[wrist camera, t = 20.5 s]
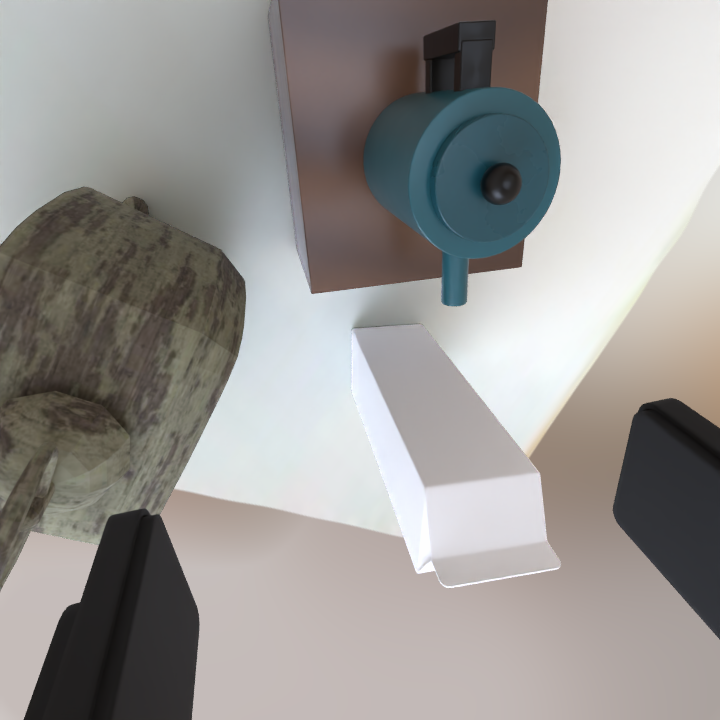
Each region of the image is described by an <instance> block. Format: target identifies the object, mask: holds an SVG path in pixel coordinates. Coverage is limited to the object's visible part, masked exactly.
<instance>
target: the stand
mask: <svg viewBox="0 0 720 720" xmlns="http://www.w3.org/2000/svg"><path fill="white" fill-rule="evenodd" d="M547 4H548V0H271V4H270V8H269V13H268V21H269V29H270V37H271V45H272V53H273V61H274V69H275V77H276V85H277V93H278V101H279V110H280V118H281V126H282V134H283V142H284V150H285V158H286V166H287V174H288V182H289V190H290V198H291V206H292V214H293V222H294V230H295V238H296V247H297V251H298V254H299V257H300V260H301V263H302V266H303V269H304V272H305V275H306V278H307V281H308V284H309V287H310V290H311V293H312V294H315V293H323V292H331V291H339V290H347V289H354V288H362V287H370V286H378V285H386V284H394V283H401V282H409V281H417V280H425V279H433V278H440V277H442V250H440V249H438V248H437V247H436V246H434V245H433V244H432V243H430V242H429V241H428V240H426V239H425V238H424V237H422V236H421V235H420V234H418V233H417V232H416V231H414V230H413V229H412V228H410V227H409V226H408V225H406V224H405V223H404V222H402V221H401V220H400V219H398V218H397V217H396V216H394V215H393V214H392V213H391V212H389V211H388V210H387V209H385V208H384V207H383V206H382V205H381V204H380V203H379V202H378V201H377V200H376V198H375V197H374V196H373V194H372V192H371V190H370V189H369V186H368V184H367V181H366V177H365V173H364V165H363V156H364V148H365V143H366V139H367V137H368V134H369V131H370V129H371V127H372V125H373V123H374V122H375V120H376V119H377V117H378V116H379V115H380V114H381V113H382V111H383V110H384V109H385V108H387V107H388V106H389V105H390V104H391V103H393V102H394V101H396V100H397V99H399V98H401V97H404V96H406V95H409V94H413V93H419V92H425V61H424V59H423V37H424V36H425V35H428V34H430V33H433V32H435V31H438V30H440V29H443V28H445V27H448V26H450V25H453V24H455V23H458V22H462V21H483V20H496V34H495V48H494V50H493V51H492V69H491V86H490V87H504V88H510V89H514V90H516V91H519V92H522V93H524V94H525V95H527V96H529V97H531V98H532V99H533V100H534V101H536V102H537V103H538V95H539V85H540V75H541V65H542V55H543V44H544V34H545V24H546V14H547ZM523 248H524V239H523V240H522V241H520V242H519V243H518V244H516V245H515V246H513V247H512V248H510V249H508V250H506V251H504V252H502V253H500V254H496V255H493V256H490V257H485V258H477V259H469V266H468V274H472V273H479V272H487V271H495V270H503V269H511V268H519V267H522V258H523Z"/></svg>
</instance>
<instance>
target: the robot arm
mask: <svg viewBox="0 0 720 720" xmlns="http://www.w3.org/2000/svg"><path fill="white" fill-rule="evenodd" d="M614 501H615V502H614V505H613V513H614V517H615V519H616V521H617V523H618V524H619V526H620V527H621V528H622V529H623V530H624V531H625V533H626V534H627V535H628V536H629V537H630V538H631V539H632V540H633V542H634V543H635V544H636V545H637V546H638V547H639V548H640V549H641V551H642V552H643V553H644V554H645V555H646V556H647V557H648V559H649V560H650V561H651V562H652V563H653V564H654V565H655V567H656V568H657V569H658V570H659V571H660V572H661V573H662V575H663V576H664V577H665V578H666V579H667V580H668V581H669V582H670V584H671V585H672V586H673V587H674V588H675V589H676V590H677V591H678V593H679V594H680V595H681V596H682V597H683V598H684V599H685V601H687V603H688V604H689V605H690V606H691V607H692V608H693V609H694V611H695V612H696V613H697V614H698V615H699V616H700V617H701V619H702V620H703V621H704V622H705V623H706V624H707V625H708V627H709V628H710V629H711V630H712V631H713V632H714V633H715V635H716V636H717V637H718V638H719V639H720V428H719V427H717V426H716V425H714V424H713V423H711V422H710V421H708V420H707V419H705V418H704V417H702V416H701V415H699V414H698V413H697V412H695V411H694V410H692V409H691V408H690V407H688V406H687V405H685V404H684V403H682V402H681V401H679V400H677V399H673V398H669V399H664V400H659V401H654V402H650V403H646V404H643V405H642V406H641V407H640V408H639V411H638V413H636V414H635V415H634V417H633V420H632V425H631V429H630V434H629V439H628V443H627V447H626V452H625V456H624V460H623V465H622V470H621V474H620V479H619V483H618V487H617V492H616V496H615V500H614ZM198 638H199V614H198V609H197V606H196V603H195V601H194V598H193V596H192V593H191V591H190V588H189V586H188V583H187V581H186V578H185V576H184V573H183V571H182V568H181V566H180V563H179V561H178V558H177V555H176V553H175V551H174V548H173V545H172V543H171V540H170V538H169V535H168V533H167V530H166V528H165V525H164V523H163V521H162V518H161V516H160V515H159V514H155V515H150V513H149V511H148V510H147V509H146V508H143V509H138V510H133V511H128V512H124V513H119V514H114V515H111V516H110V517H109V518H108V520H107V522H106V525H105V528H104V531H103V534H102V537H101V540H100V543H99V547H98V550H97V553H96V556H95V559H94V562H93V565H92V568H91V571H90V574H89V577H88V580H87V583H86V586H85V590H84V592H83V596H82V599H81V602H80V603H76V604H73V605H70V606H68V607H67V609H66V610H65V611H64V612H63V614H62V616H61V618H60V620H59V622H58V625H57V628H56V630H55V633H54V636H53V639H52V642H51V644H50V647H49V650H48V653H47V656H46V658H45V661H44V664H43V667H42V670H41V672H40V675H39V678H38V681H37V684H36V687H35V689H34V692H33V695H32V698H31V700H30V703H29V706H28V709H27V712H26V715H25V717H24V720H192V708H193V697H194V685H195V672H196V662H197V650H198Z"/></svg>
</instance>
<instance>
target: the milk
mask: <svg viewBox="0 0 720 720" xmlns="http://www.w3.org/2000/svg"><path fill="white" fill-rule="evenodd" d="M351 391H352V394H353V397H354V400H355V403H356V405H357V408H358V411H359V414H360V417H361V419H362V422H363V425H364V428H365V431H366V433H367V436H368V439H369V442H370V444H371V447H372V450H373V453H374V456H375V458H376V461H377V464H378V467H379V470H380V472H381V475H382V478H383V481H384V484H385V486H386V489H387V492H388V495H389V497H390V500H391V503H392V506H393V509H394V511H395V514H396V517H397V520H398V523H399V525H400V528H401V531H402V534H403V537H404V539H405V542H406V545H407V548H408V550H409V553H410V556H411V559H412V562H413V564H414V567H415V570H416V572H417V573H424V572H430V571H435V572H436V575H437V577H438V579H439V582H440V583H441V584H442V585H443V586H444V587H447V588H453V587H459V586H465V585H470V584H476V583H481V582H488V581H493V580H498V579H504V578H510V577H516V576H522V575H528V574H533V573H539V572H545V571H551V570H556V569H559V568H560V566H561V562H560V560H559V558H558V557H557V555H556V554H555V552H554V551H553V549H552V548H551V546H550V545H549V543H548V542H547V535H546V526H545V516H544V507H543V497H542V488H541V478H540V473H539V471H538V470H537V469H536V468H535V466H534V465H533V464H532V462H531V461H530V460H529V459H528V457H527V456H526V455H525V454H524V452H523V451H522V450H521V448H520V447H519V446H518V445H517V443H516V442H515V441H514V440H513V438H512V437H511V436H510V435H509V433H508V432H507V431H506V430H505V428H504V427H503V426H502V424H501V423H500V422H499V421H498V419H497V418H496V417H495V416H494V414H493V413H492V412H491V411H490V409H489V408H488V407H487V405H486V404H485V403H484V402H483V400H482V399H481V398H480V397H479V395H478V394H477V393H476V392H475V390H474V389H473V388H472V386H471V385H470V384H469V383H468V381H467V380H466V379H465V378H464V376H463V375H462V374H461V373H460V371H459V370H458V369H457V367H456V366H455V365H454V364H453V362H452V361H451V360H450V359H449V357H448V356H447V355H446V354H445V352H444V351H443V350H442V348H441V347H440V346H439V345H438V343H437V342H436V341H435V340H434V338H433V337H432V336H431V335H430V333H429V332H428V331H427V330H426V328H425V327H424V326H423V325H422V324H411V325H397V326H383V327H368V328H354V329H352V380H351Z"/></svg>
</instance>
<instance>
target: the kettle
mask: <svg viewBox="0 0 720 720" xmlns="http://www.w3.org/2000/svg"><path fill="white" fill-rule="evenodd" d="M495 34H496V20H483V21H462V22H458V23H455V24H453V25H450V26H448V27H445V28H443V29H440V30H438V31H435V32H433V33H430V34H428V35H425V36H424V37H423V59H424V61H425V92H419V93H413V94H409V95H406V96H404V97H401V98H399V99H397V100H396V101H394V102H393V103H391V104H390V105H389V106H388V107H387V108H385V109H384V110H383V111H382V113H381V114H380V115H379V116H378V117H377V119H376V120H375V122H374V123H373V125H372V127H371V129H370V131H369V134H368V137H367V139H366V143H365V148H364V156H363V165H364V173H365V177H366V181H367V184H368V186H369V189H370V190H371V192H372V194H373V196H374V197H375V198H376V200H377V201H378V202H379V203H380V204H381V205H382V206H383V207H384V208H385V209H387V210H388V211H389V212H391V213H392V214H393V215H394V216H396V217H397V218H398V219H400V220H401V221H402V222H404V223H405V224H406V225H408V226H409V227H410V228H412V229H413V230H414V231H416V232H417V233H418V234H420V235H421V236H422V237H424V238H425V239H426V240H428V241H429V242H430V243H432V244H433V245H434V246H436V247H437V248H438V249H440V250H442V289H441V302H442V303H443V304H444V305H447V306H461V305H464V304H466V302H467V288H468V266H469V259H477V258H485V257H490V256H493V255H496V254H500V253H502V252H504V251H506V250H508V249H510V248H512V247H513V246H515V245H516V244H518V243H519V242H520V241H522V240H523V239H524V238H526V237H527V236H528V235H529V234H530V233H531V232H532V231H533V230H534V228H535V227H536V226H537V225H538V224H539V222H540V221H541V219H542V218H543V217H544V215H545V214H546V212H547V210H548V208H549V206H550V204H551V202H552V200H553V197H554V195H555V192H556V188H557V185H558V180H559V175H560V165H561V156H560V146H559V140H558V137H557V134H556V130H555V128H554V126H553V124H552V121H551V120H550V118H549V117H548V115H547V113H546V112H545V111H544V110H543V108H542V107H541V106H540V105H539V104H538V103H537V102H536V101H534V100H533V99H532V98H531V97H529V96H527V95H525V94H524V93H522V92H519V91H516V90H514V89H510V88H504V87H490V86H491V69H492V51H493V50H494V48H495Z"/></svg>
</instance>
